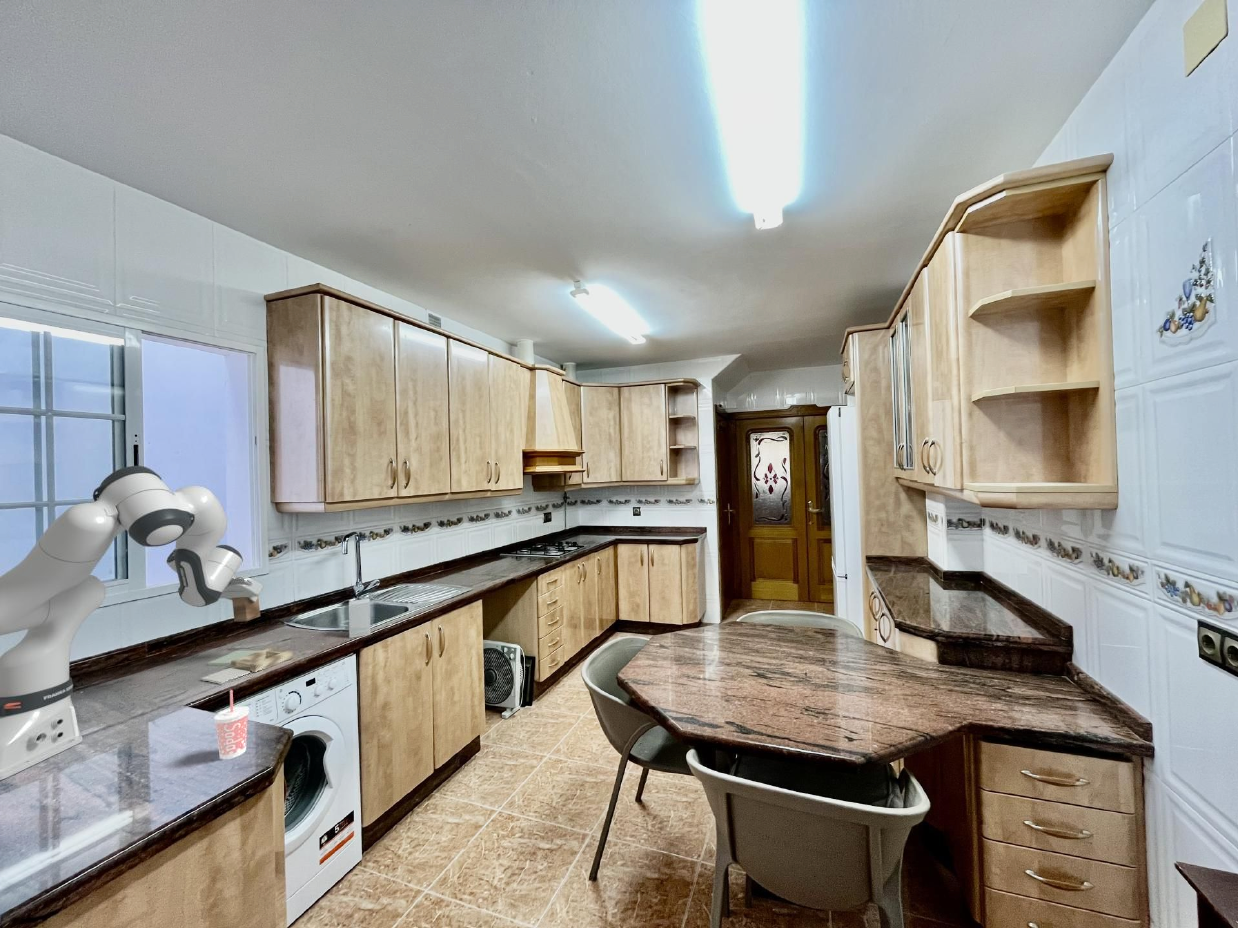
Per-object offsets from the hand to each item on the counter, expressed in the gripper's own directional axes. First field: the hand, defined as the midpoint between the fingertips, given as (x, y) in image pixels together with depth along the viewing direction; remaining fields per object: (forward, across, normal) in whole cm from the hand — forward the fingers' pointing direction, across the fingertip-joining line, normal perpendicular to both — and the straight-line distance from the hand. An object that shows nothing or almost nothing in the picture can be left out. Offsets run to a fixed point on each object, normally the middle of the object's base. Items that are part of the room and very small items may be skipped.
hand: (247, 600), depth 167 cm
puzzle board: (+8, -8, +21) cm, 23 cm away
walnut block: (+4, 0, +5) cm, 6 cm away
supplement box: (+34, -22, -2) cm, 40 cm away
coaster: (+13, +5, +15) cm, 20 cm away
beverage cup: (-22, -50, +52) cm, 75 cm away
